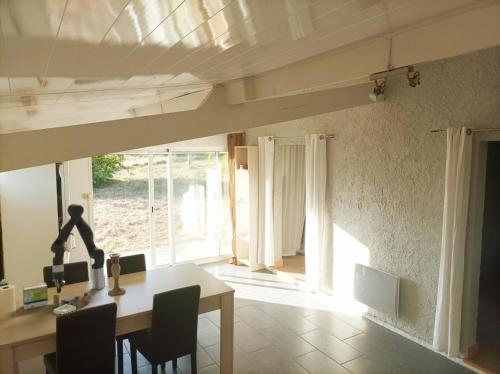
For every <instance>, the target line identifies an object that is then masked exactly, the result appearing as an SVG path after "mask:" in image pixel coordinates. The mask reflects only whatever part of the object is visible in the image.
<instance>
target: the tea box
mask: <svg viewBox="0 0 500 374" xmlns="http://www.w3.org/2000/svg"><path fill="white" fill-rule="evenodd" d="M48 296H49V295H48V285H47V283H46V282H40V283H35V284H30V285H29V284H28V285H23V286H22V304H23V309H24V310H28V309H33V308H38V307H39V308H40V307H43V306H44V305H45V306H48V305H49V302H48V301H49V300H48V299H49V298H48Z"/></svg>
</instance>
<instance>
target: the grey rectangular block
mask: <svg viewBox="0 0 500 374" xmlns="http://www.w3.org/2000/svg"><path fill="white" fill-rule="evenodd" d="M75 296H76V294H75V295H73V294H71V295H68V296H67V297H65V298H62V299H61V300H60V303H61V305H60V306H63V305H65V304H67V305H72V306H73V305H74V300H75Z"/></svg>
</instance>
